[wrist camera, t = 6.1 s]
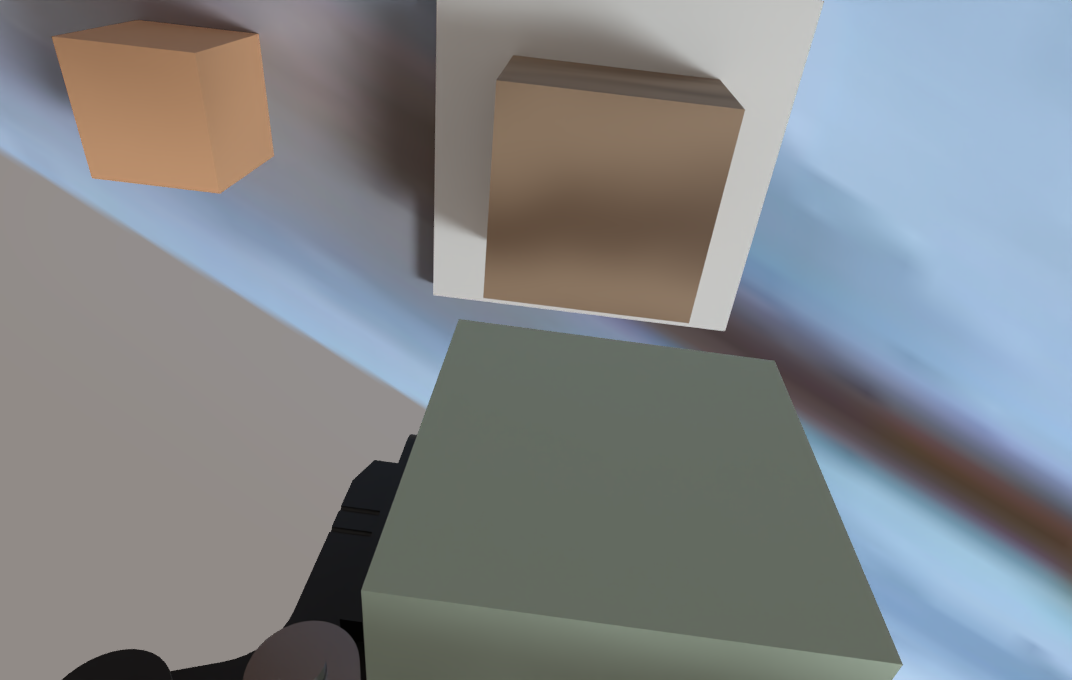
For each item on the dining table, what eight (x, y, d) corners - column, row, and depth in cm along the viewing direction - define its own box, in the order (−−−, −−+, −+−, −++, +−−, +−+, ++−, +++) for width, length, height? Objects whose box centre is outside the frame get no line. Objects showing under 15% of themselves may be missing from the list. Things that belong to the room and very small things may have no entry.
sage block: (459, 319, 10) (361, 590, 6) (774, 360, 10) (903, 664, 6) (446, 567, 13) (377, 857, 9) (686, 600, 13) (728, 908, 9)
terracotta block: (138, 19, 26) (51, 36, 22) (259, 33, 26) (195, 52, 22) (165, 142, 29) (92, 178, 25) (274, 155, 29) (219, 193, 25)
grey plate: (442, -45, 24) (437, -44, 23) (816, -2, 24) (824, 0, 23) (437, 285, 32) (433, 295, 31) (721, 320, 31) (724, 331, 31)
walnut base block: (513, 55, 25) (496, 80, 21) (719, 79, 25) (745, 109, 21) (499, 245, 29) (483, 297, 25) (675, 266, 29) (688, 323, 25)
